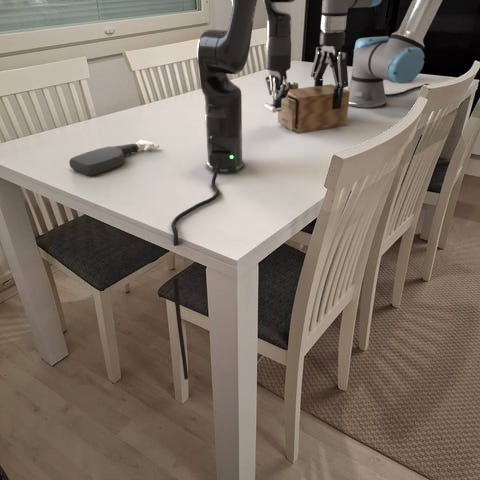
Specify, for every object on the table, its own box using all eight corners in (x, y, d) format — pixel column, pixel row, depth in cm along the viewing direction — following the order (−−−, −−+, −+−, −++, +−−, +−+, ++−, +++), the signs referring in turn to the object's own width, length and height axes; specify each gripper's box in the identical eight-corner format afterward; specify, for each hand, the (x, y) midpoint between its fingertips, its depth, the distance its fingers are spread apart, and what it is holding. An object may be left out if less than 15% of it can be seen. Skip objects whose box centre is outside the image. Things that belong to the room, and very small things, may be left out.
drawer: (274, 133, 139) (275, 103, 134) (261, 124, 146) (261, 96, 141) (336, 123, 146) (339, 95, 142) (321, 115, 154) (323, 88, 149)
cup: (274, 107, 166) (275, 85, 162) (282, 102, 172) (282, 80, 168) (293, 109, 163) (294, 87, 159) (300, 104, 169) (301, 82, 165)
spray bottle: (67, 168, 120) (139, 144, 136) (91, 178, 114) (163, 151, 130) (65, 157, 118) (137, 134, 134) (89, 167, 112) (162, 142, 128)
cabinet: (298, 133, 142) (300, 97, 136) (282, 123, 150) (283, 90, 144) (346, 125, 148) (349, 91, 142) (328, 116, 156) (331, 84, 150)
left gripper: (300, 54, 128) (297, 114, 137) (279, 47, 138) (277, 104, 147) (277, 57, 125) (276, 118, 134) (257, 50, 135) (257, 107, 145)
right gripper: (366, 34, 127) (357, 111, 139) (322, 26, 146) (317, 95, 157) (344, 36, 125) (336, 114, 137) (302, 27, 143) (299, 97, 155)
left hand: (277, 110), depth 141 cm, fingers closed
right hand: (326, 104), depth 147 cm, fingers closed on cabinet, 11 cm apart
